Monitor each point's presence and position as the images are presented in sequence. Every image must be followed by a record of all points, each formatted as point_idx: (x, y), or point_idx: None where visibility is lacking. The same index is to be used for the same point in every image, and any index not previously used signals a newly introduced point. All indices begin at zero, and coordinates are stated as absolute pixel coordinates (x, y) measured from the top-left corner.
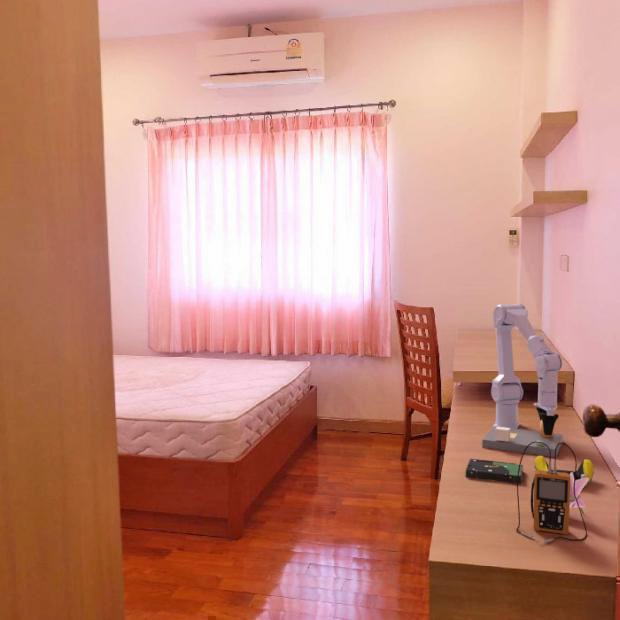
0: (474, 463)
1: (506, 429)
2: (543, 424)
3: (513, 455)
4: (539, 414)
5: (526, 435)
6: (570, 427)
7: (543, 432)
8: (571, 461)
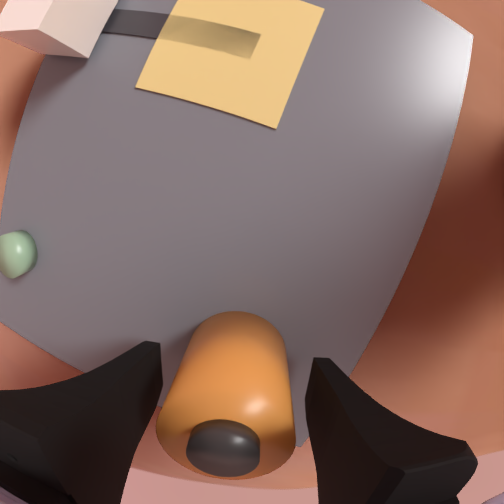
0: None
1: (11, 12)
2: (82, 375)
3: (15, 101)
4: (358, 436)
5: (242, 201)
6: (488, 440)
7: (189, 346)
8: (7, 347)
